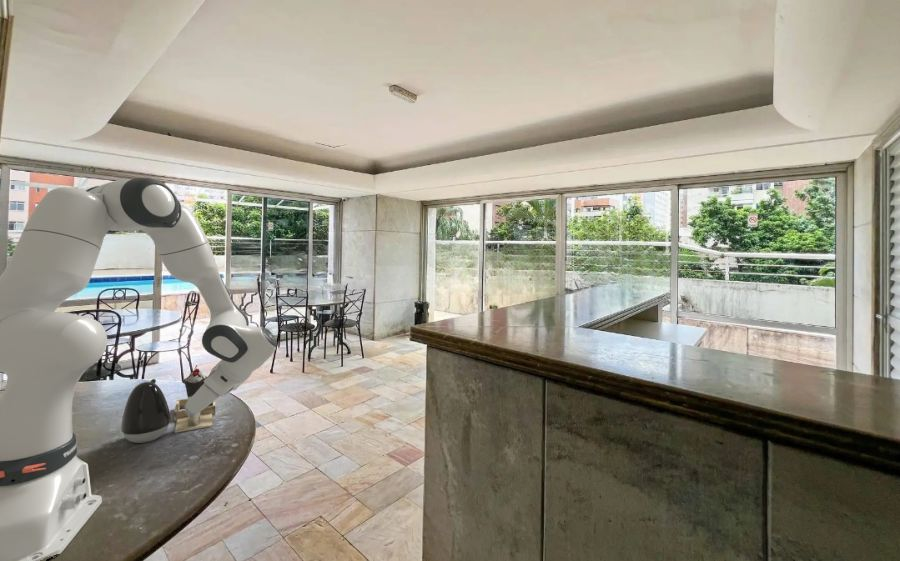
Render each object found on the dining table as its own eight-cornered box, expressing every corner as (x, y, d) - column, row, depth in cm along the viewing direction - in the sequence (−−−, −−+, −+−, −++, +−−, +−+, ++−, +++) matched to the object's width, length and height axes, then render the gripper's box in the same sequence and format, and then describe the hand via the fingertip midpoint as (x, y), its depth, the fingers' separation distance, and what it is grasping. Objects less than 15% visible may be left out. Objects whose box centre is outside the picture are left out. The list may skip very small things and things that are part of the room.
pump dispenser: (177, 427, 109) (175, 374, 107) (162, 445, 99) (160, 387, 97) (133, 431, 105) (131, 377, 104) (113, 450, 96) (111, 390, 94)
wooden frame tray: (215, 425, 110) (214, 397, 109) (171, 433, 105) (170, 403, 104) (215, 402, 126) (214, 377, 125) (177, 407, 121) (176, 381, 120)
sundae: (196, 417, 115) (195, 368, 114) (177, 414, 116) (176, 365, 115) (213, 408, 122) (213, 361, 120) (195, 405, 123) (194, 359, 122)
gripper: (233, 357, 120) (198, 389, 118) (204, 379, 100) (163, 417, 98) (248, 370, 121) (214, 402, 120) (223, 395, 101) (183, 433, 100)
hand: (191, 409), depth 109 cm, fingers closed on wooden frame tray, 3 cm apart
